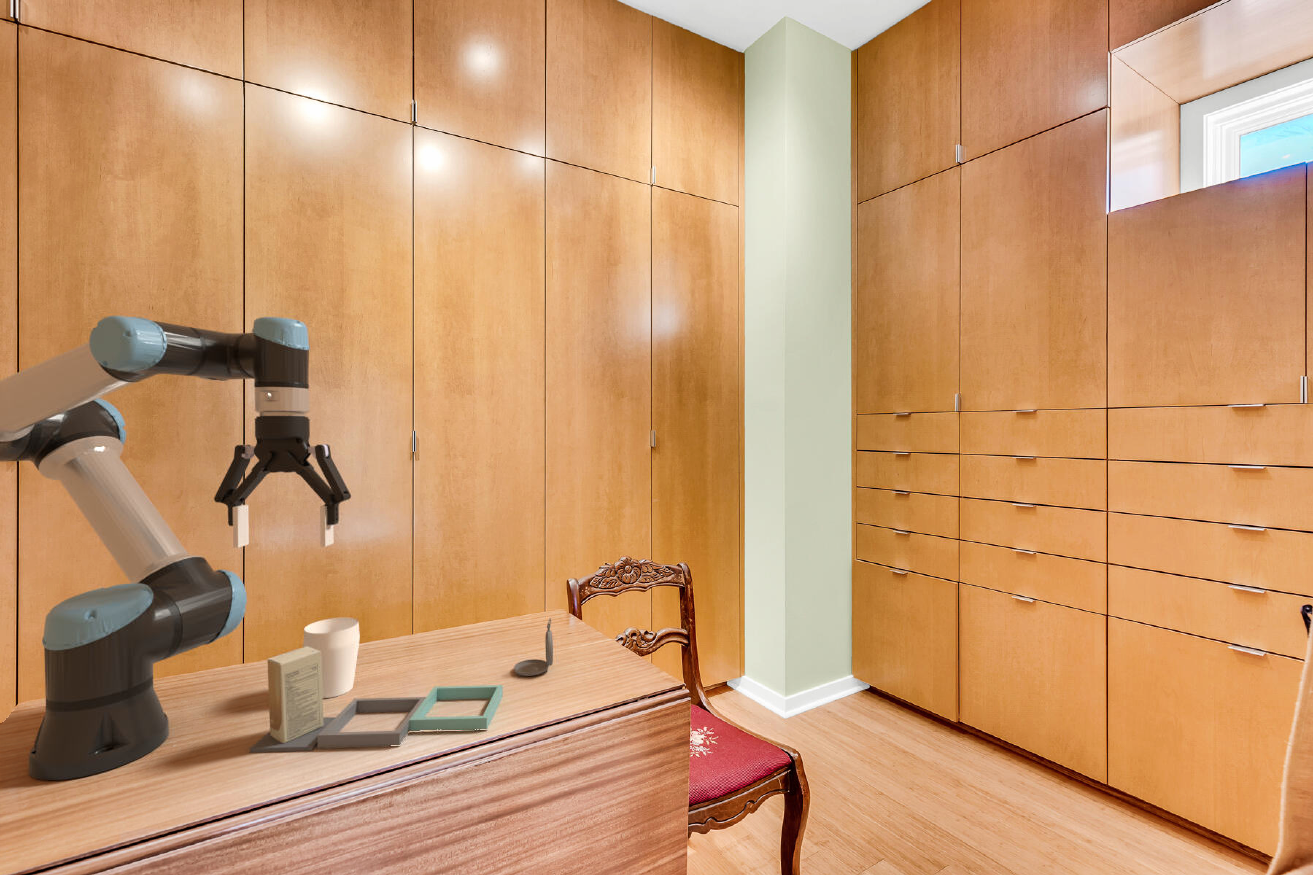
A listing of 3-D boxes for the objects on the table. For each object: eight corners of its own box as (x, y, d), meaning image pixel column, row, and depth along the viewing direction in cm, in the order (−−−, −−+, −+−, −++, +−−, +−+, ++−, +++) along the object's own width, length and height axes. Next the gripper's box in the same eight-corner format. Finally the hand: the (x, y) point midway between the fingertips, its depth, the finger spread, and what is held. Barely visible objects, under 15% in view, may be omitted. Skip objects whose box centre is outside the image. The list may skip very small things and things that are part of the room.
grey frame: (317, 748, 88) (317, 735, 88) (354, 710, 100) (354, 698, 100) (399, 746, 89) (399, 733, 89) (426, 708, 101) (426, 696, 101)
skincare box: (310, 719, 96) (309, 644, 96) (324, 726, 94) (323, 649, 93) (267, 736, 91) (265, 657, 90) (280, 745, 88) (279, 663, 88)
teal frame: (409, 732, 93) (409, 719, 93) (434, 697, 105) (434, 686, 105) (486, 730, 94) (486, 717, 94) (502, 696, 106) (502, 684, 105)
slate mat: (249, 752, 87) (249, 748, 87) (284, 722, 96) (284, 718, 96) (312, 750, 88) (312, 746, 88) (341, 720, 97) (341, 716, 97)
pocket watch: (507, 671, 116) (506, 620, 116) (542, 658, 123) (542, 610, 122) (531, 683, 111) (531, 630, 111) (567, 669, 117) (567, 619, 117)
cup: (336, 704, 103) (335, 635, 102) (291, 699, 104) (290, 631, 104) (371, 682, 111) (370, 618, 111) (329, 678, 113) (328, 615, 113)
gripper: (185, 414, 92) (187, 551, 92) (350, 414, 93) (352, 549, 93) (219, 415, 99) (220, 541, 100) (371, 415, 100) (372, 540, 101)
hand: (284, 545), depth 96 cm, fingers open, 13 cm apart
